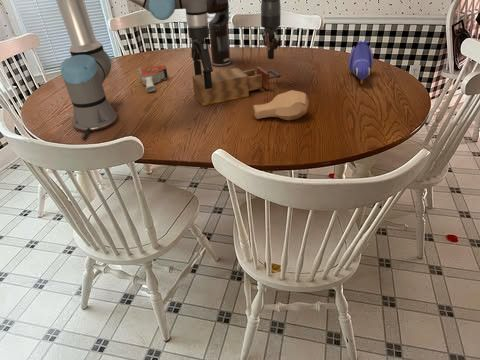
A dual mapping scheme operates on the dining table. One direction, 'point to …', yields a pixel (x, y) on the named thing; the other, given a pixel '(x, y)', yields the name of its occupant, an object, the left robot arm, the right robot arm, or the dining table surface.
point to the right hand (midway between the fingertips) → (270, 58)
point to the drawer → (259, 78)
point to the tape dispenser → (152, 76)
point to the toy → (361, 60)
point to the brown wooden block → (221, 86)
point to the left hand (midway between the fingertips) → (203, 82)
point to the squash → (284, 106)
